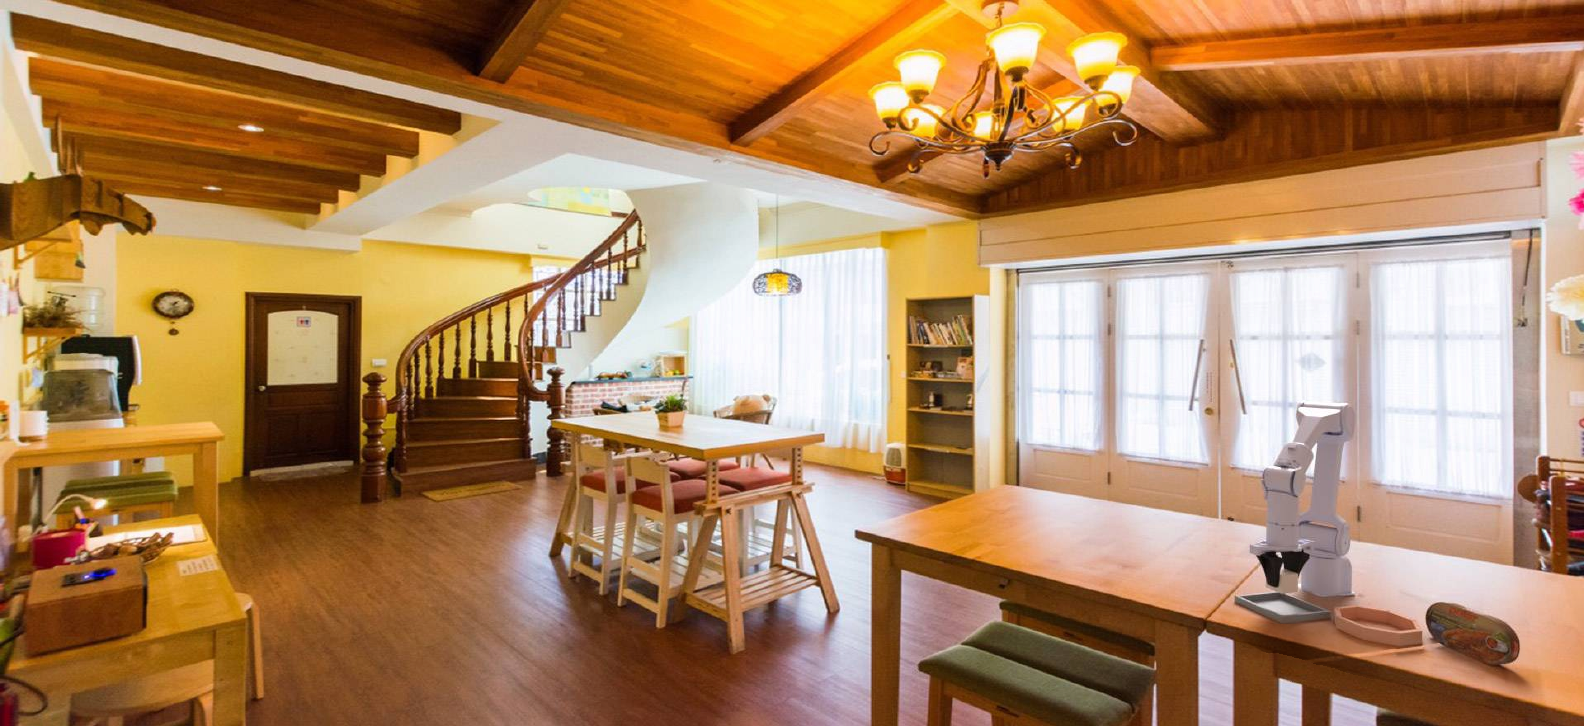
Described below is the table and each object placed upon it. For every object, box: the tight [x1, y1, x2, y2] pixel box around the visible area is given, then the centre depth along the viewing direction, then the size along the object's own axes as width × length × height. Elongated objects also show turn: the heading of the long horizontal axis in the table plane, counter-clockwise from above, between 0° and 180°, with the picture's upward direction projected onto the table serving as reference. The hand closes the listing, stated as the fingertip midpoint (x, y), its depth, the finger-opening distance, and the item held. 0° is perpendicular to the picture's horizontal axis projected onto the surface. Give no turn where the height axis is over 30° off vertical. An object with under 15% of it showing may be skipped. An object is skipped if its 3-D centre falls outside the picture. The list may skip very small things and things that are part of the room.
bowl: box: [1333, 604, 1423, 650], centre depth 140 cm, size 13×13×3 cm
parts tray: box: [1234, 591, 1332, 625], centre depth 151 cm, size 12×12×2 cm
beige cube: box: [1265, 567, 1299, 594], centre depth 151 cm, size 4×4×4 cm
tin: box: [1425, 601, 1521, 666], centre depth 131 cm, size 15×3×8 cm, turn 5°
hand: (1281, 584), depth 151 cm, fingers closed on beige cube, 4 cm apart
